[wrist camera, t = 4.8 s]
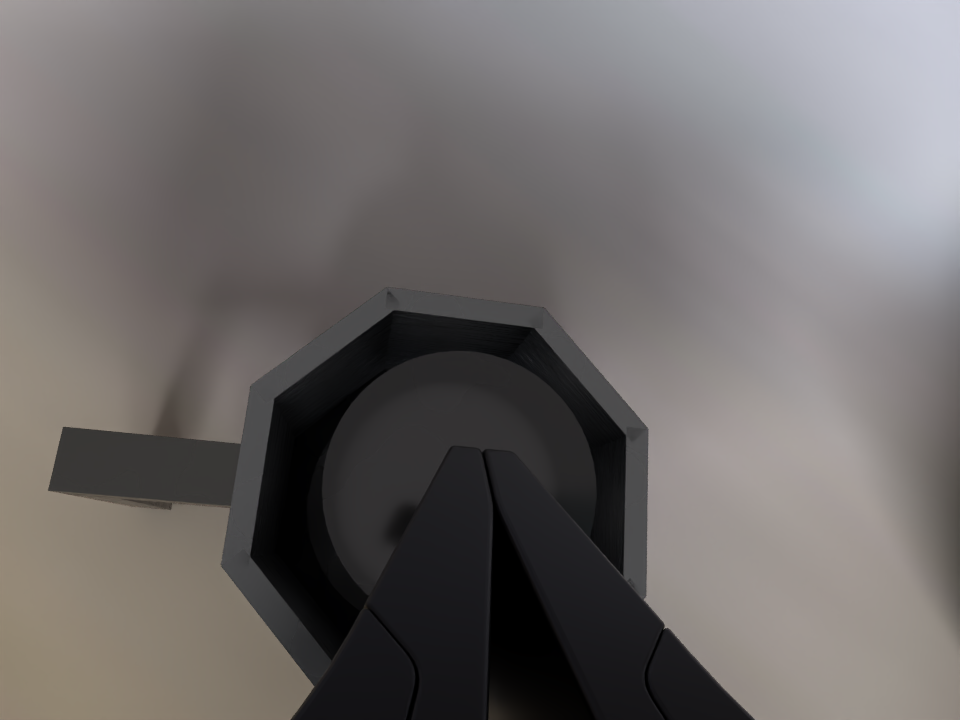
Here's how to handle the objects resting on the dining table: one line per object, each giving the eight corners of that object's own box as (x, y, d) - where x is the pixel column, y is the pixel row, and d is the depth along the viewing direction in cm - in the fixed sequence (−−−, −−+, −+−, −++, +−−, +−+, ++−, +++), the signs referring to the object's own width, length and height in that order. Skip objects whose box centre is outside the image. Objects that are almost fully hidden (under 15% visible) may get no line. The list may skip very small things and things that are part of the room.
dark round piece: (529, 634, 15) (624, 681, 10) (293, 619, 15) (258, 660, 9) (541, 407, 17) (631, 340, 11) (325, 383, 16) (311, 299, 11)
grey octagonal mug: (561, 680, 16) (650, 736, 11) (104, 655, 15) (-15, 707, 10) (574, 378, 18) (654, 317, 13) (170, 331, 17) (96, 243, 12)
